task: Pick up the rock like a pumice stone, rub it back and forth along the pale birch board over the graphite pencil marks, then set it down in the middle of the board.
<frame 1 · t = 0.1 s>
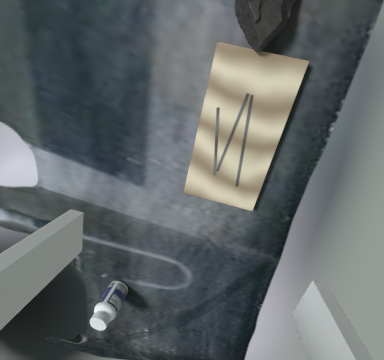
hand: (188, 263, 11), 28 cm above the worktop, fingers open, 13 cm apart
board: (236, 135, 35), on the worktop
pill bottle: (119, 287, 52), on the worktop
rock: (264, 6, 29), on the worktop, touching board
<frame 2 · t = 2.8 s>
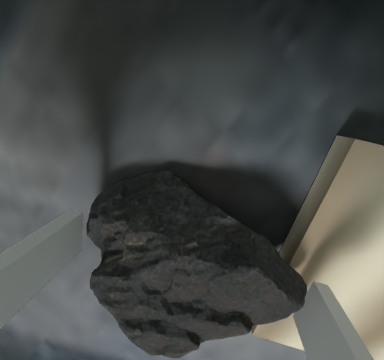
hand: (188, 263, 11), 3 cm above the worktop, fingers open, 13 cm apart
rock: (191, 233, 14), on the worktop, touching board, gripper
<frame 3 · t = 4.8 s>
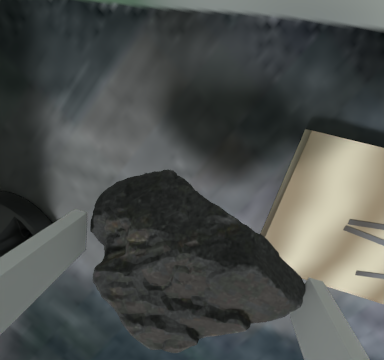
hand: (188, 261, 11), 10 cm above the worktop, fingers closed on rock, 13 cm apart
rock: (192, 232, 14), point 7 cm above the worktop, touching gripper
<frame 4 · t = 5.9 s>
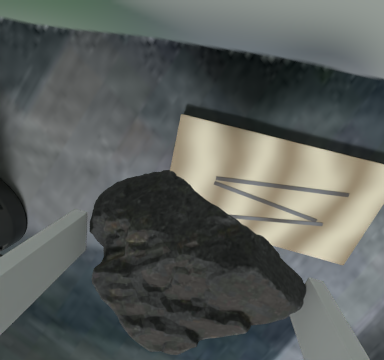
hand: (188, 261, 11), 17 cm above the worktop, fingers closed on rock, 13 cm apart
board: (265, 190, 26), on the worktop
rock: (192, 233, 14), point 14 cm above the worktop, touching gripper
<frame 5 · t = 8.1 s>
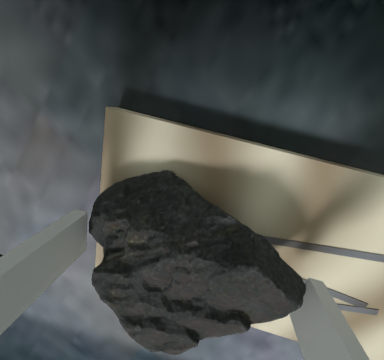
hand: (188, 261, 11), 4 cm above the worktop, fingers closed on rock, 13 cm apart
board: (270, 244, 15), on the worktop
rock: (191, 233, 14), point 1 cm above the worktop, touching gripper
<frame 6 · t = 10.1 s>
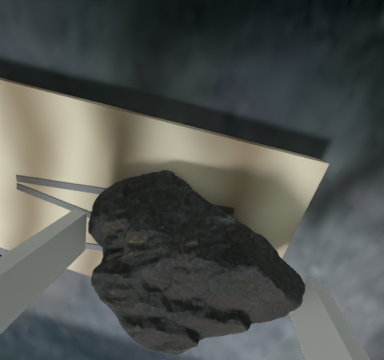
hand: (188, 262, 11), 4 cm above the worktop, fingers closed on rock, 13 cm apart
board: (114, 199, 15), on the worktop
rock: (191, 233, 14), point 1 cm above the worktop, touching board, gripper
when the fingers open (4 cm above the worktop, at t = 14.1 s): rock moves 7 cm, resting on board.
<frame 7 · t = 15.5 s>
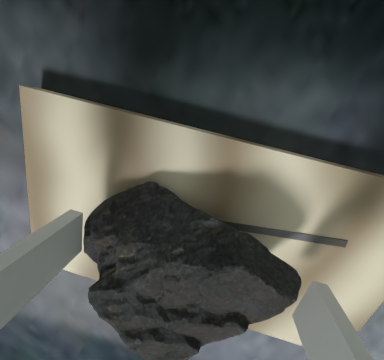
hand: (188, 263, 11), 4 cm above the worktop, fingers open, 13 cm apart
board: (199, 225, 15), on the worktop
rock: (186, 239, 14), point 1 cm above the worktop, touching board, gripper
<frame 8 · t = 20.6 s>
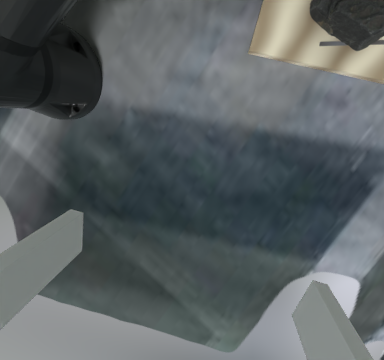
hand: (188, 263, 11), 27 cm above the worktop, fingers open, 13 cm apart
board: (357, 16, 27), on the worktop
rock: (357, 15, 25), point 1 cm above the worktop, touching board
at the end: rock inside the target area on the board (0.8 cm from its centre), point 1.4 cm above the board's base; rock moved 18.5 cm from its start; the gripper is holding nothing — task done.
